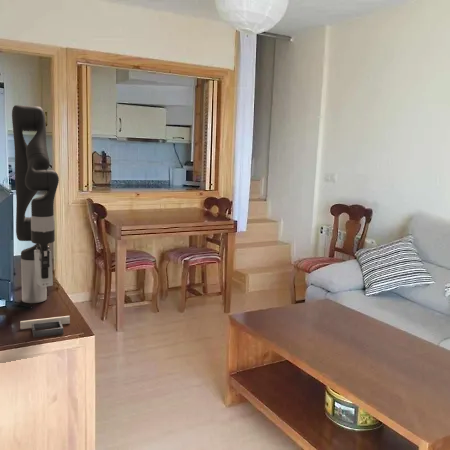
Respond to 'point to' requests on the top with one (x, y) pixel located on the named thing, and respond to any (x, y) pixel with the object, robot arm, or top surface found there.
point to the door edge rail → (29, 323)
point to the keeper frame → (47, 331)
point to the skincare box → (39, 279)
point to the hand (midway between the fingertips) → (43, 275)
